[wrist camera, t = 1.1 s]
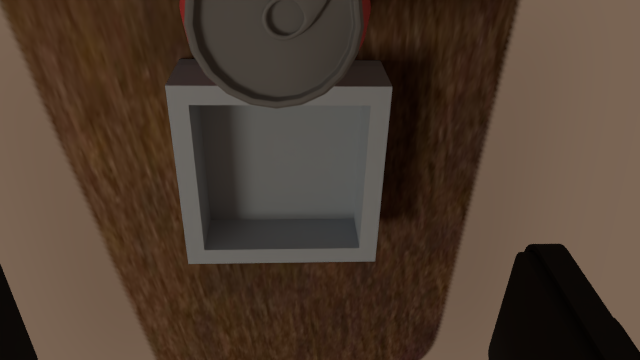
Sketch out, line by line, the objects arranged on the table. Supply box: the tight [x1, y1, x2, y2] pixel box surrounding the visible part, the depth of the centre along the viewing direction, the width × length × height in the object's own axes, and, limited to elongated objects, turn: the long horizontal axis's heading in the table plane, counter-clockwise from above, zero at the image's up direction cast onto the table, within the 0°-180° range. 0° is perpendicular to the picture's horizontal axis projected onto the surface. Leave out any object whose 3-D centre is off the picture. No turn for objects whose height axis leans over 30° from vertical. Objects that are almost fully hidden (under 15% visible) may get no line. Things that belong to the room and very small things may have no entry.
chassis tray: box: [165, 59, 392, 264], centre depth 30 cm, size 11×11×4 cm
